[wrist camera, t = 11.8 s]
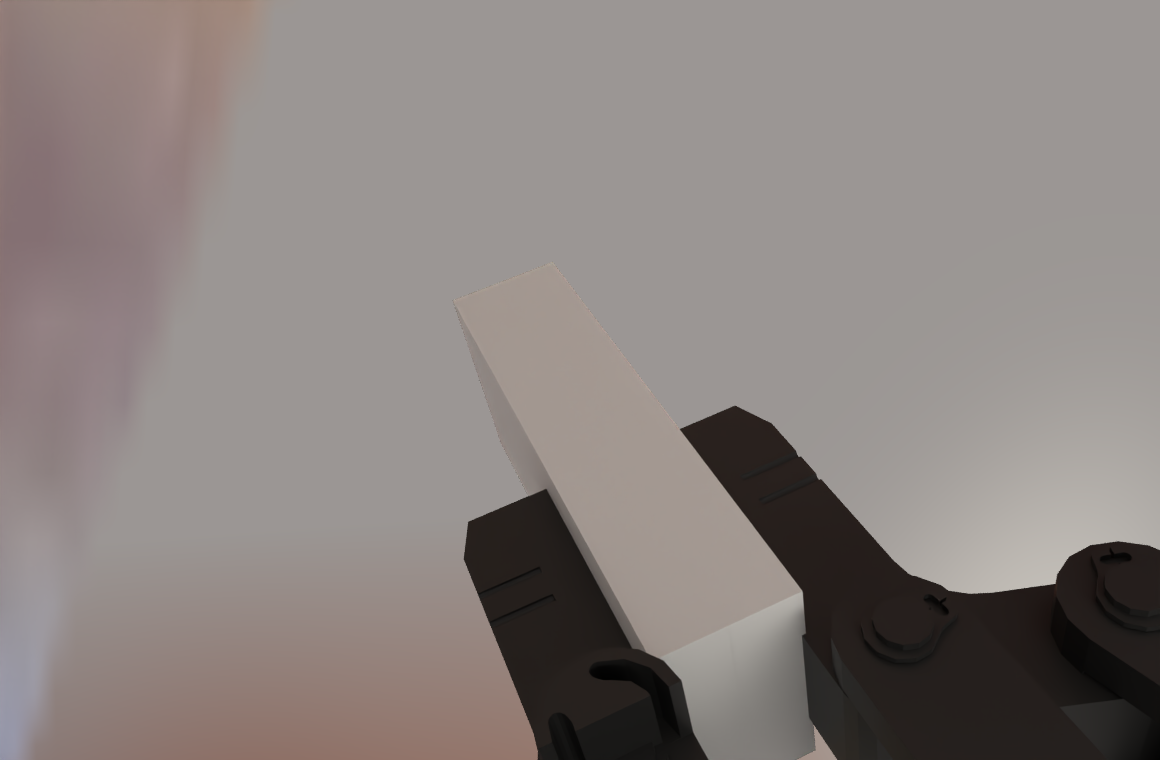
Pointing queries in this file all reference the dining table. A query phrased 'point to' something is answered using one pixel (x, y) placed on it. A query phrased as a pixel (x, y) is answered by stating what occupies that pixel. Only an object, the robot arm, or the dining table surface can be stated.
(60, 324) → the dining table surface
